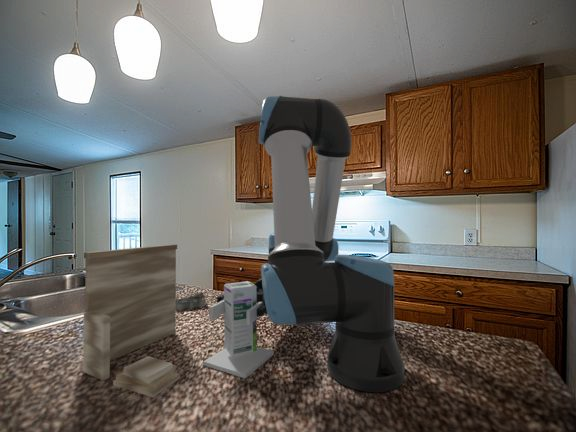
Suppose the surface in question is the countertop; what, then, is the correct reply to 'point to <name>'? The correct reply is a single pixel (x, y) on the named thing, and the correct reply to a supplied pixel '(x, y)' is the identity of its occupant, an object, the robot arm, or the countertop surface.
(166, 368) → the offcut stack
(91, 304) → the wood grain panel
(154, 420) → the countertop surface
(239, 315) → the syrup box
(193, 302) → the egg carton
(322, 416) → the countertop surface
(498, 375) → the countertop surface
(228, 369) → the mat
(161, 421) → the countertop surface
